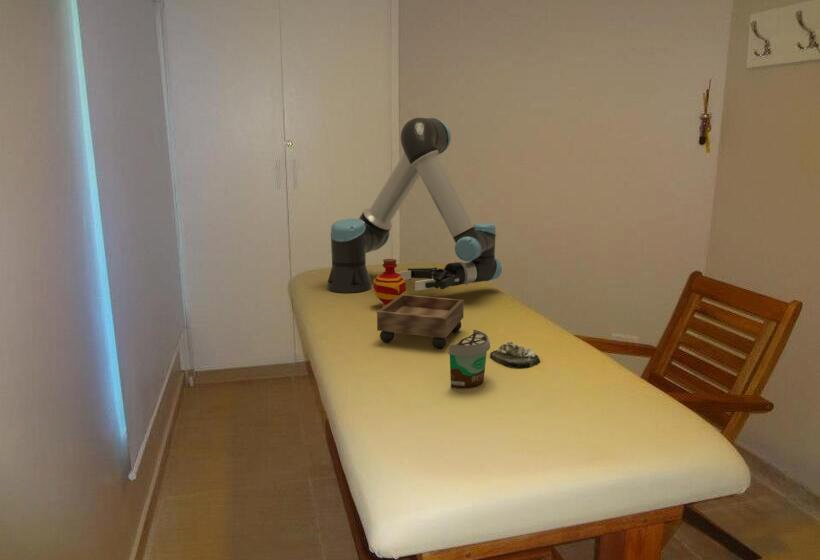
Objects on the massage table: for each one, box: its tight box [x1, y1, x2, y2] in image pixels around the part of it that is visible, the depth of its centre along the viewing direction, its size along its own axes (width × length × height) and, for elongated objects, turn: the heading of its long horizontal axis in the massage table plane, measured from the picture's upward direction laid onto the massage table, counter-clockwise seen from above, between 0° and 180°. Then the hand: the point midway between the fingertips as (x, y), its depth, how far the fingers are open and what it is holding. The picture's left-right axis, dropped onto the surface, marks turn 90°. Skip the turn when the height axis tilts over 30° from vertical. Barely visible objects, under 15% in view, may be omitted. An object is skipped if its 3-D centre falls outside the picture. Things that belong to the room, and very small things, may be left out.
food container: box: [447, 329, 491, 390], centre depth 129 cm, size 12×6×10 cm, turn 148°
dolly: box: [376, 294, 465, 350], centre depth 158 cm, size 18×18×9 cm
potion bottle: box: [372, 258, 407, 308], centre depth 184 cm, size 10×10×15 cm
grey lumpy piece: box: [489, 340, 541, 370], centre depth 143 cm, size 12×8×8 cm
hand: (403, 281), depth 186 cm, fingers open, 13 cm apart
